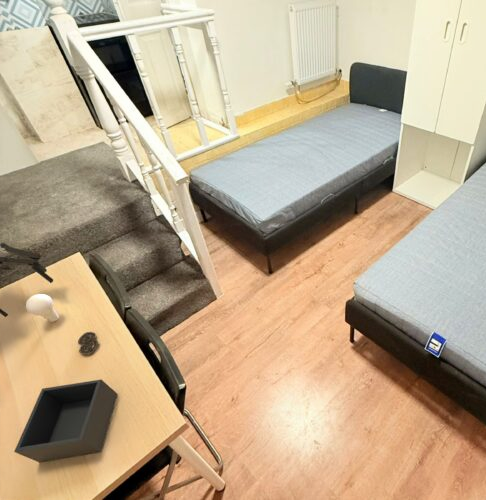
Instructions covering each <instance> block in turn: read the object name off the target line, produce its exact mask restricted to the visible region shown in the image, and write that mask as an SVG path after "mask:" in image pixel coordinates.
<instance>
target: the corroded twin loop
mask: <svg viewBox="0 0 486 500" xmlns="http://www.w3.org/2000/svg"><path fill="white" fill-rule="evenodd" d="M96 337H97V334H96V333H95V332H93V331H86V332H84V333H83V334H82V335H81V336H80V337H79V338H78V341H77V345H80V347H79V349H78V353H79V354H81V355H92V354H93V353H94V352H95V351H96V349H97V348H98V346H99V341H98V340H97V339H96Z"/></svg>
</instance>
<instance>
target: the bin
mask: <svg viewBox="0 0 486 500" xmlns="http://www.w3.org/2000/svg"><path fill="white" fill-rule="evenodd" d="M117 398H118V393H117V392H116V391H115V390H114V389H113V388H112V387H111V386H110V385H108V384H107V383H106V382H105V381H104V380H103V379H102V378H101V379H95V380H88V381H82V382H75V383H69V384H64V385H63V384H62V385H56V386H50V387H43V388H41V390H40V393H39V394H38V397H37V399H36V402H35V403H34V406H33V408H32V410H31V412H30V415H29V417H28V419H27V422H26V424H25V427H24V428H23V430H22V433H21V435H20V437H19V440H18V442H17V444H16V447H15V449H14V451H13V453H16V454H17V455H20V456H23V457H25V458H27V459H30V460H32V461H35V462H37V463H46V462H52V461H58V460H63V459H70V458H74V457H81V456H87V455H92V454H93V455H94V454H98V453H102V451H103V449H104V444H105V441H106V437H107V433H108V430H109V426H110V423H111V419H112V416H113V412H114V409H115V405H116V401H117Z"/></svg>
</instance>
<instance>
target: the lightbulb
mask: <svg viewBox="0 0 486 500" xmlns="http://www.w3.org/2000/svg"><path fill="white" fill-rule="evenodd" d="M25 309H26V310H27V312H28V313H29V314H31V315H32V316H33V315H34V316H39V317H42V318H44V319H46V320H47V321H49V322H50V323H54V322H56V321H57V320H59V318H60V316H59V314H58V313H57V311H56V310H55V308H54V301H53V298H52V297H51V296H49V295H48V294H44V293H38V294H37V293H36V294H34V295H32V296H30V297H29V298H28V299H27V301H26V303H25Z"/></svg>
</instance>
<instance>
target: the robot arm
mask: <svg viewBox="0 0 486 500" xmlns="http://www.w3.org/2000/svg"><path fill="white" fill-rule="evenodd" d="M0 253H3V254H4V253H5V254H6V253H9V254H11V255H15V256H18V257H22V258H13V257H6V256H0V265H13V266H14V265H15V266H25V267H26V266H28V267H31V269H32V270H33V271H35V272H36V273H37V274H38V275H40V276H41V277H42V278H43V279H45V280H46V281H47V282H48V283H50V284H52V283H53V282H54V279H53V278H52V277H51V276H50V275H48V274H47V270H48V269H47V268H46V267H45V266H43V265H42V264H41V263H40V261H41V260H42V255H40V254H37V253H34V252H32V251H31V252H30V251H27V250H23V249H19V248H16V247H13V246H11V245H8V244H7V243H6V242H1V243H0ZM0 314H1V315H2V316H3V317H4V318H6V317H7V316H9V314H8V312H6V311H5V310H3V308H0Z"/></svg>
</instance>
